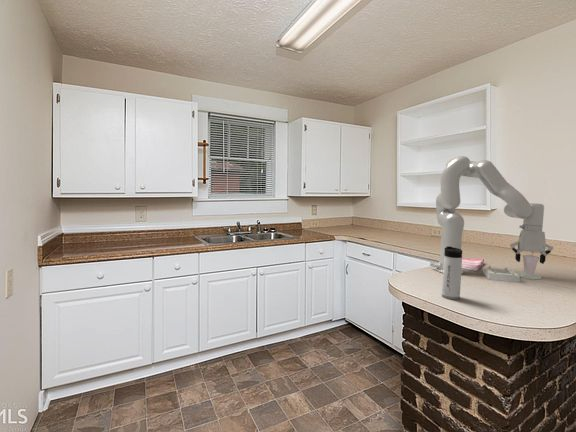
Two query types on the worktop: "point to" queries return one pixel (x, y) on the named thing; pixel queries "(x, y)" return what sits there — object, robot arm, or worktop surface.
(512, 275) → the socket block
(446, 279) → the travel mug
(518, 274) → the coaster
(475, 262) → the dish towel
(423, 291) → the worktop surface
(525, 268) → the smoothie
